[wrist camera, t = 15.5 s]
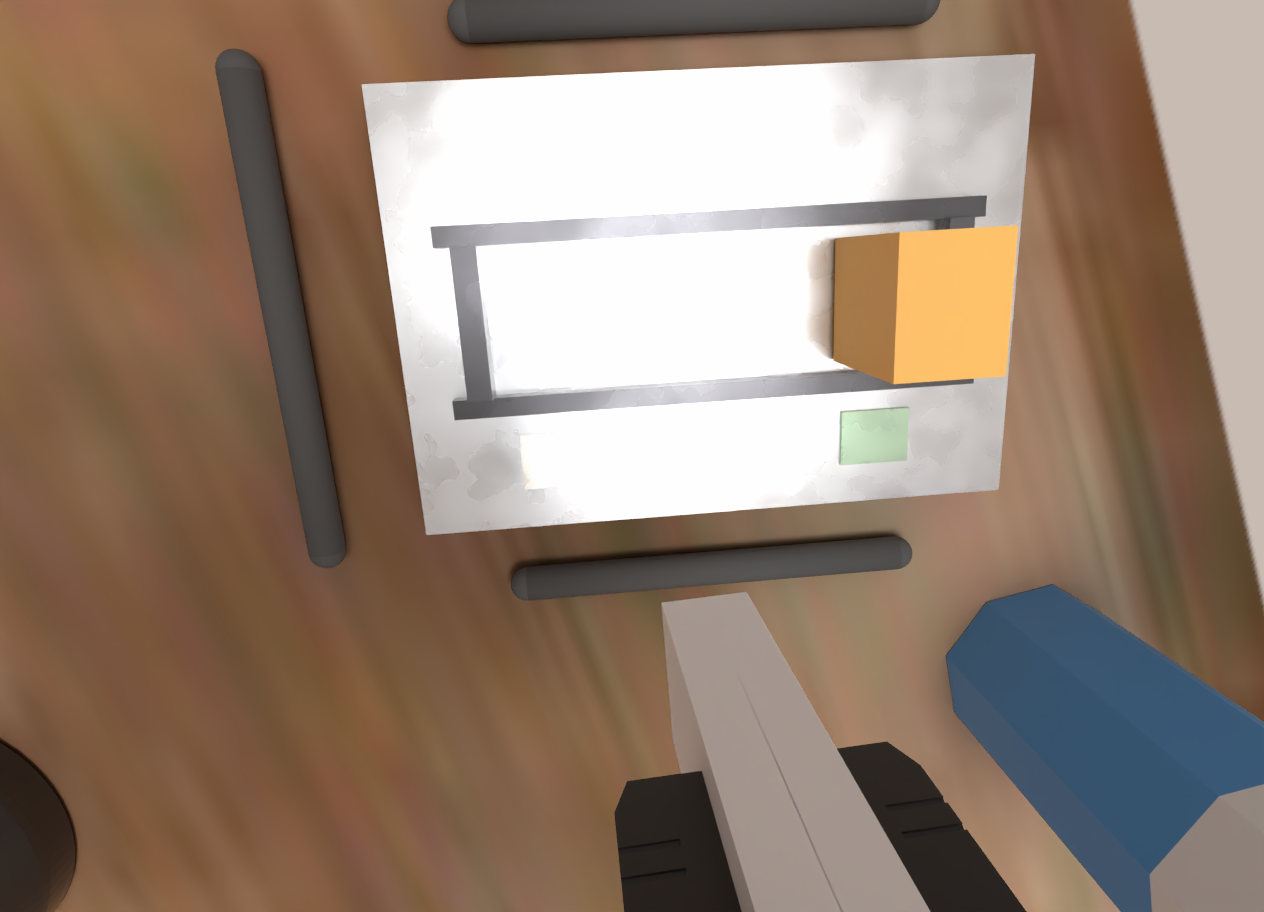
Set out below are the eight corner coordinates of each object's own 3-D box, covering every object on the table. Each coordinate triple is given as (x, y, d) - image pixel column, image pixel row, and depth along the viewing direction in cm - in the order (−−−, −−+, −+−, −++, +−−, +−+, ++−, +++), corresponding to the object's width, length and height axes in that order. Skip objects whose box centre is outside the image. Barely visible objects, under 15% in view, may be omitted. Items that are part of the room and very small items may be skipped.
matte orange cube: (833, 360, 30) (893, 384, 24) (835, 238, 29) (899, 232, 23) (924, 354, 30) (1005, 376, 25) (931, 232, 29) (1018, 225, 23)
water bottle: (968, 575, 37) (1715, 1175, 13) (1134, 593, 38) (2122, 1180, 14) (924, 731, 39) (1482, 1489, 15) (1081, 744, 40) (1842, 1475, 16)
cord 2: (514, 592, 35) (511, 607, 33) (511, 562, 35) (507, 576, 33) (902, 559, 36) (917, 573, 35) (904, 530, 36) (918, 542, 34)
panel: (437, 515, 34) (420, 546, 30) (379, 99, 29) (350, 75, 25) (969, 474, 35) (1015, 498, 31) (998, 70, 30) (1056, 43, 27)
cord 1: (454, 49, 29) (446, 37, 27) (448, 4, 28) (441, -11, 27) (927, 28, 30) (946, 15, 28) (930, -15, 29) (949, -31, 28)
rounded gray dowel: (353, 558, 34) (342, 571, 32) (319, 560, 34) (306, 575, 32) (265, 54, 28) (246, 42, 27) (223, 56, 28) (203, 44, 27)
